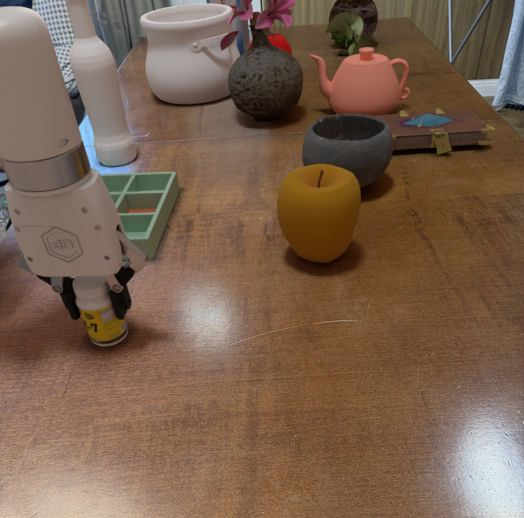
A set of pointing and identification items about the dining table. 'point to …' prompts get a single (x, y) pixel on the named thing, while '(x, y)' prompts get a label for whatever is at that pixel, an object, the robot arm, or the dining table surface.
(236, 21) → the milk carton
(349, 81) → the teapot
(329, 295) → the dining table surface
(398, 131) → the book
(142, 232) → the tray
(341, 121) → the bowl
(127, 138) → the bottle
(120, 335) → the supplement bottle
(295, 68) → the vase
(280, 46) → the tomato
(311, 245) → the apple
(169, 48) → the pot
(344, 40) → the potted plant
